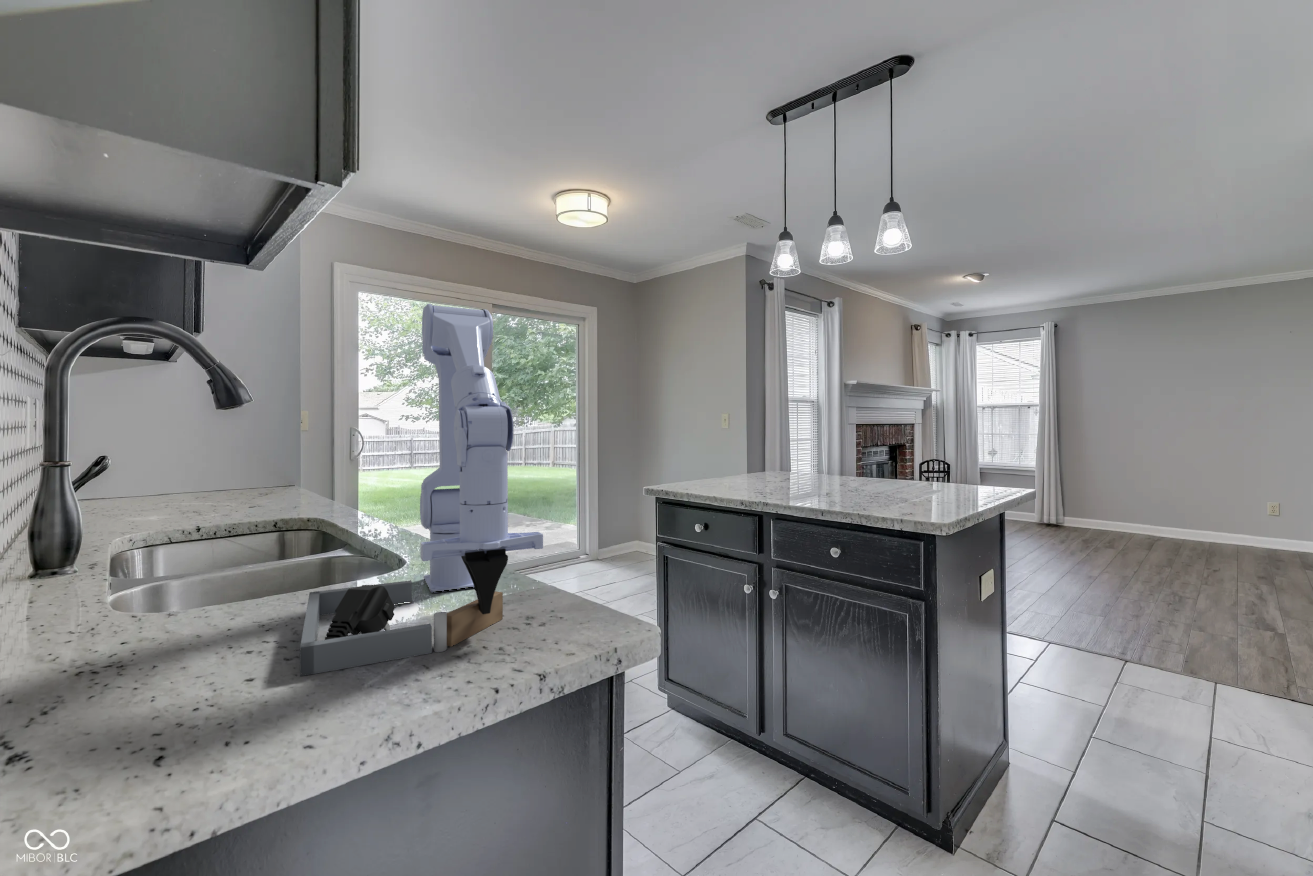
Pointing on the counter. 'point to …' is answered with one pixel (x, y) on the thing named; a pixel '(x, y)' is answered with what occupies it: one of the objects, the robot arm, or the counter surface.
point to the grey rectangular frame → (365, 635)
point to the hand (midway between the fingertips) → (484, 611)
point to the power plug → (362, 612)
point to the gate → (472, 619)
